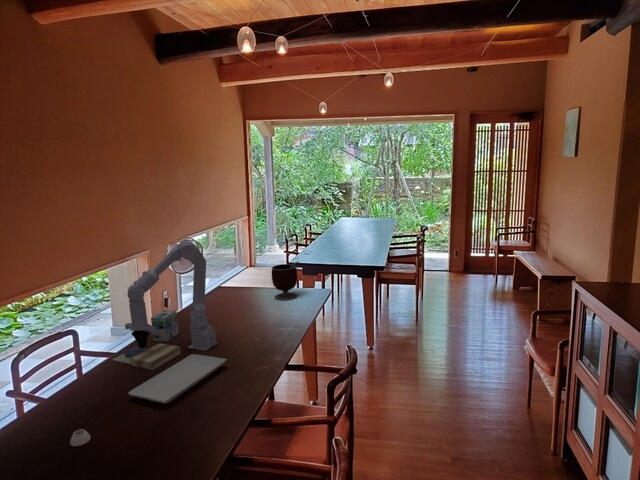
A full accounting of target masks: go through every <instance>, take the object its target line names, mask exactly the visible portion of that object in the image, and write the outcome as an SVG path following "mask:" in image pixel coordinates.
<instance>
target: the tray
mask: <svg viewBox="0 0 640 480" xmlns="http://www.w3.org/2000/svg"><path fill="white" fill-rule="evenodd" d="M227 360H228V359H226V358H221V357H216V356H209V355H202V354H193V353H192V354H190V355H188V356H187V357H185V358H183V359H181V360H180V361H178V362H177V363H175V364H173V365H171V366H170V367H167V368H166V369H165V370H163V371H162V372H160V373H158V374H157V375H154V376H153V377H151V378H150V379H148V380H146V381H145V382H143V383H141V384H140V385H139V384H138V386H136V387H135V388H133V389H131V390H129V392H128V395H129V396H132V397H134V398H139V399H143V400H147V401H151V402H155V403H160V404H163V405H164V404H165V405H166V404H169V403H171V402H172V401H174V400H175V399H177V398H178V397H180V396H181V395H182V394H184V393H185V392H187V391H188V390H189V389H191V388H193V387H194V386H196V385H197V384H199V383H200V382H201V381H203V380H204V379H205V378H208V376H210V375H211V374H213V373H214V372H216V370H218V369H220V367H221V366H223V365H224V364H225V363H226V362H227Z"/></svg>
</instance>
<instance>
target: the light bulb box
mask: <svg viewBox="0 0 640 480" xmlns="http://www.w3.org/2000/svg"><path fill="white" fill-rule="evenodd" d="M177 313H178V312H177V310H176V309H175V310H174V309H173V310H172V309H163V310H161V311H159V312H158V313H156V314H155V315H154V316H153V315H152V317H150V322H151V325H152V326H154V327H156V332H154V333H152V337H153V342H168V341H170V340H171V339H173V338H174V337H176V336H177V335H179V333H180V331H179V321H178V314H177Z"/></svg>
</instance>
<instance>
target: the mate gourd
mask: <svg viewBox="0 0 640 480" xmlns="http://www.w3.org/2000/svg"><path fill="white" fill-rule="evenodd" d="M297 264H300V261H299V260H298V261H296V262H293V263H284V264H283V263H282V264H276V265H273V266H272V267H271V281H272V285H273V286H274V288H275V289H276V290H278V291H281V292H282V293H278V294H276V295H275V296H274V299H275V300H276V301H282V302H283V301H284V302H285V301H291V300H295V299H297V297H298V294H297V293H294V292H289V291H291V290H293V289H294V288H295V287H296V286H297V283H298V270H297V267H296V265H297Z"/></svg>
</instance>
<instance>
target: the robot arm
mask: <svg viewBox="0 0 640 480" xmlns="http://www.w3.org/2000/svg"><path fill="white" fill-rule="evenodd" d="M182 258H183V259H184V260H187V261H189V262H190V263H191V264H193V279H192V280H193V285H192V303H191V309H190V310H189V313H188V316H189V319H190V321H191V323H190V324H189V329H190V336H191V337H190V338H191V344H190V345H188V346H187V349H193V350H199V351H204V352H205V351H208V350H209V349H211V348H213V347H214V346H216V345H218V342H217V336H216V329H215V327H214V326H211V325H210V324H209V322H208V319H209V318H208V316H207V313H206V312H207V310H206V283H207V282H206V279H207V278H206V276H207V273H206V272H207V259H206V258H205V257H204V255H203V253H202V251H200V249H199V248H198V247H197V246H196V245H195V244H194V243H193V242H191V241H190V240H187V239H184V240H182V241H180V242H179V243H178V245H175V246H174V247H173V248H172V249H171V250H170V251H168V253H167V254H166V255H165V256H164V257H163V258H162V259H161V260H160V262H158V263H157V265H155V267H154V268H153V269H147V270H146V271H144V270H143V272H142V273H141V274H142V275H141V276H140V277H139V278H138V279H137V280H134V281H133V283H132V284H131V285H130V286H129V287H128V289H127V292H126V293H127V298H128V303H129V306H128V307H129V313H130V319H131V322H128V323H125V324H124V326H125V327H124V328H125V330H130V331H131V336H133V338H134V339H135V341H136V343H137V345H138V347H139V348H140V349H143V348H147V343H148V337H149V335H150V334H153V333H154V332H156V327H154V326H152V324H149V323H148V316H147V308H146V302H145V299H144V297H145V293H147V292H148V291H149V290H150V289H152V288H153V286H155V284H156V283H158V282H159V280H160V275H161V274H162V273H164V271H166V270H167V269H168V267H170V266H171V265H172V264H173V263H175V262H178V261H179V262H180V261H183V259H182Z"/></svg>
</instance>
